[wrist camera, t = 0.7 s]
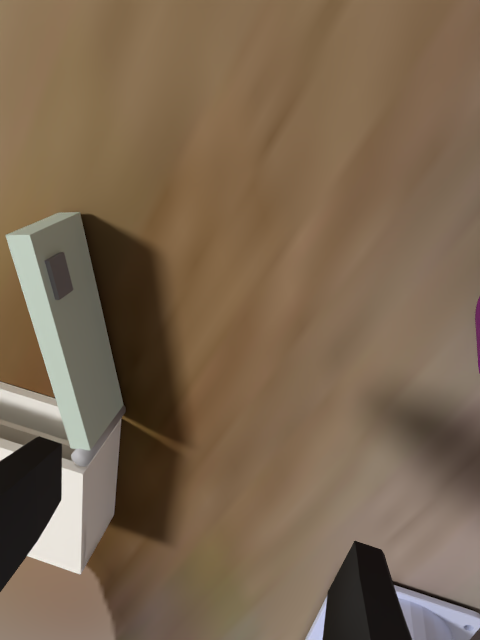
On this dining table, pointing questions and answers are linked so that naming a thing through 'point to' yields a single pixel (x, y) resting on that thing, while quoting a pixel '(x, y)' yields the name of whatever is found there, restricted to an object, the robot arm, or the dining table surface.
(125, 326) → the dining table surface
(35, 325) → the door
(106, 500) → the cabinet
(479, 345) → the mounting bracket
